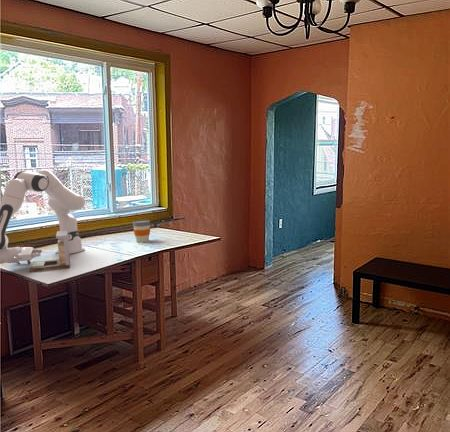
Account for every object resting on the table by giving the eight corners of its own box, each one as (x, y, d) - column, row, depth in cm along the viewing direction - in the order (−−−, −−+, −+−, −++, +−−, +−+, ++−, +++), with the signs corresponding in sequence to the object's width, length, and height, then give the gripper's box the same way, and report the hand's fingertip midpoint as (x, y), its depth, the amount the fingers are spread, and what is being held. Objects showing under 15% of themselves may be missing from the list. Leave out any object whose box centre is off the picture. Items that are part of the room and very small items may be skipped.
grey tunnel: (59, 259, 273) (56, 231, 271) (69, 258, 275) (67, 230, 272) (58, 265, 258) (55, 236, 256) (69, 264, 260) (66, 235, 257)
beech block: (59, 261, 268) (58, 241, 266) (68, 260, 270) (67, 241, 268) (59, 263, 264) (57, 243, 262) (68, 262, 265) (66, 242, 263)
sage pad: (32, 263, 266) (32, 262, 265) (44, 262, 268) (44, 261, 268) (30, 267, 257) (30, 266, 257) (43, 265, 259) (43, 265, 259)
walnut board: (33, 265, 269) (32, 261, 269) (69, 261, 276) (69, 258, 275) (30, 272, 254) (30, 268, 254) (69, 268, 260) (69, 264, 260)
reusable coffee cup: (153, 239, 335) (152, 219, 332) (148, 243, 322) (147, 222, 320) (136, 239, 336) (135, 219, 334) (131, 243, 324) (130, 222, 321)
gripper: (12, 253, 247) (39, 251, 252) (16, 246, 267) (41, 244, 271) (13, 264, 248) (40, 262, 253) (17, 256, 268) (42, 254, 272)
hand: (41, 252), depth 262 cm, fingers open, 8 cm apart
